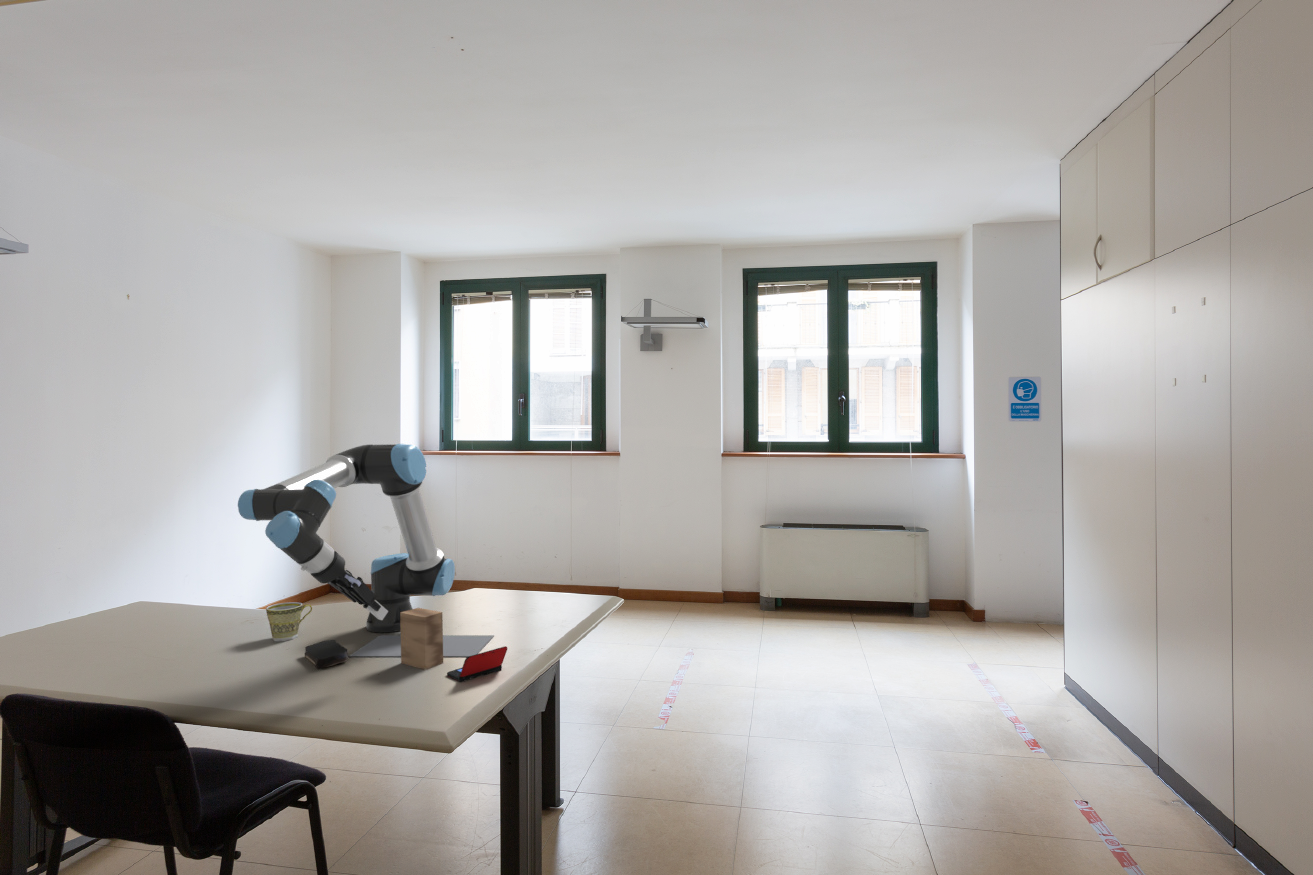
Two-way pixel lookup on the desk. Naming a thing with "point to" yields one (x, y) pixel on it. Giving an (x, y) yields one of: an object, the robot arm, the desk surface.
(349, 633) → the desk surface
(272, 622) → the ceramic cup
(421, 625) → the walnut block
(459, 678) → the handheld game console
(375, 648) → the felt pad
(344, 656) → the black sponge
